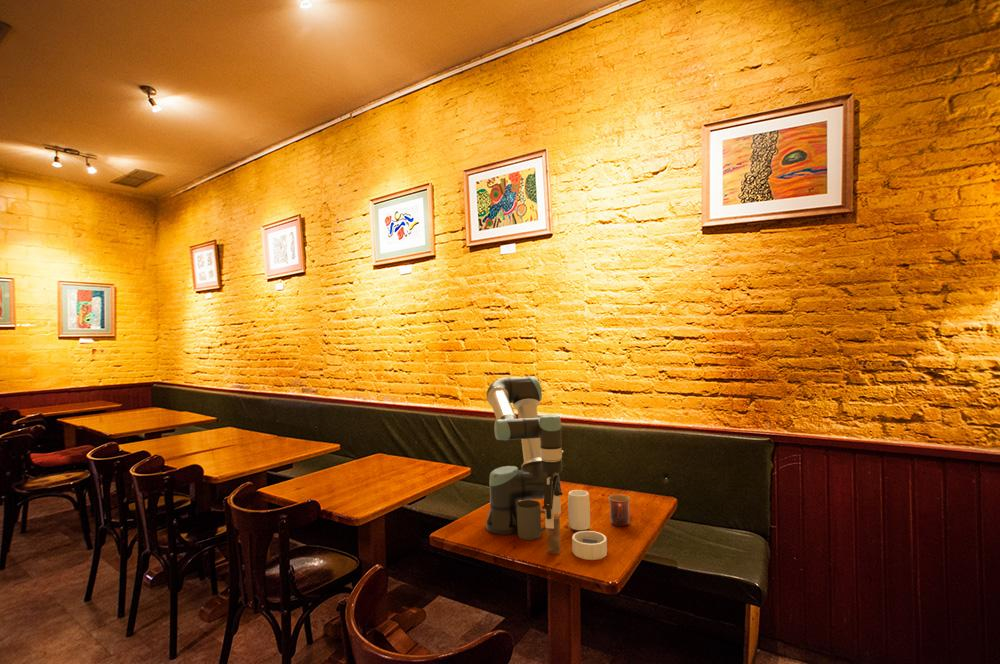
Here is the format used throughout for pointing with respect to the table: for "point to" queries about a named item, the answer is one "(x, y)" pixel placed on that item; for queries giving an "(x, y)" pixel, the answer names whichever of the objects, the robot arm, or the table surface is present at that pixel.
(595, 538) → the white round bowl
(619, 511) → the mug
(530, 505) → the mug
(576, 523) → the cup
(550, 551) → the tall brown wooden block
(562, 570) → the table surface
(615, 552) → the table surface
